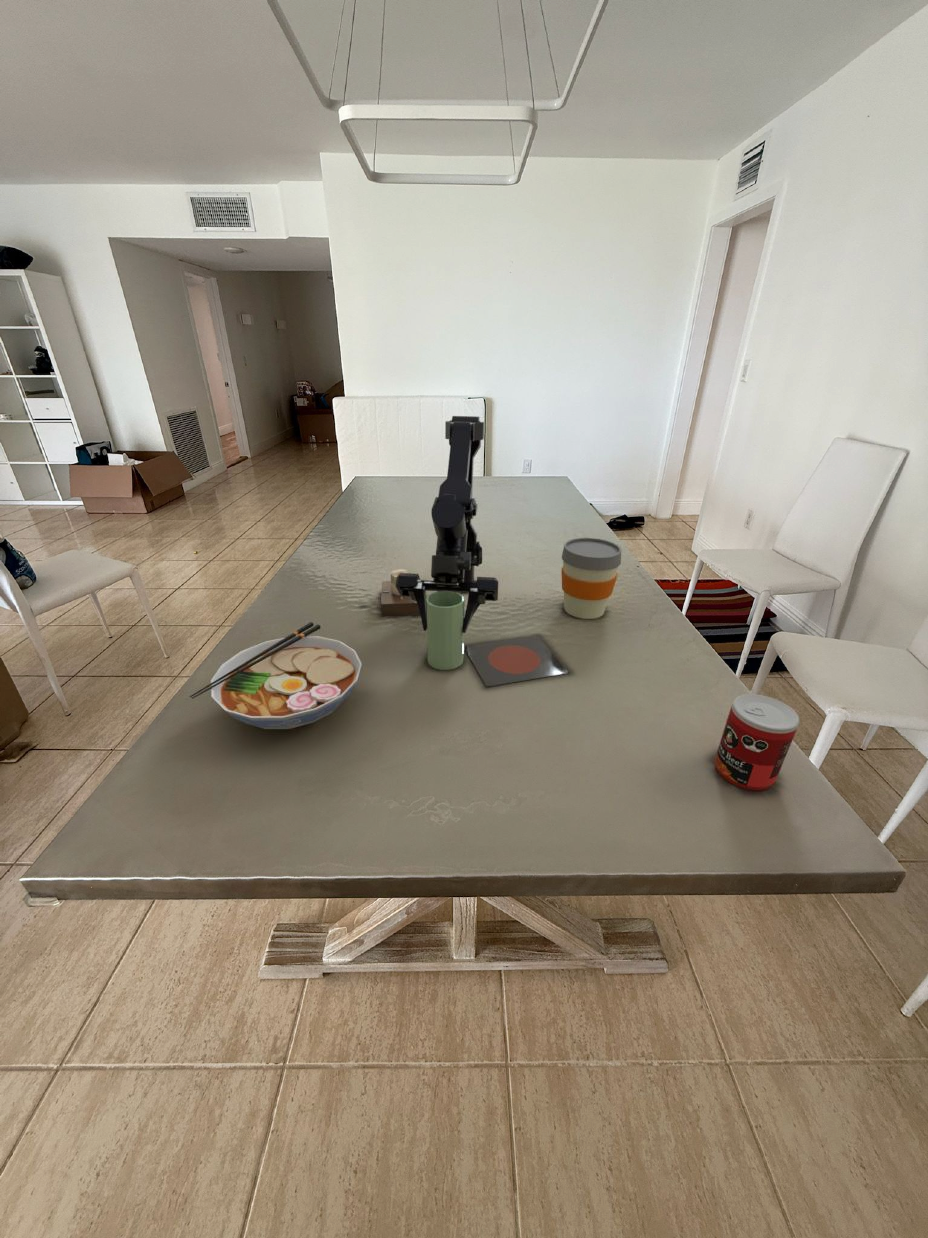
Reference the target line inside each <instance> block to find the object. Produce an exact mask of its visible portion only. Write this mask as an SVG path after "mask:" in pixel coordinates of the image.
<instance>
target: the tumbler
mask: <svg viewBox="0 0 928 1238" xmlns="http://www.w3.org/2000/svg"><path fill="white" fill-rule="evenodd" d="M426 597H427V598H426V627H427V628H426V660H427V663H428V665H429V666H430V667H431V668H432V669H433V668H434V669H436V670H439V671H451V670H455V669H457V668H459V667H460V666H461V665H463V662H464V657H465V656H464V655H465V654H464V653H465V652H464V651H465V649H464V646H465V633H463V622H464V617H465V597H464V596H463V595H462V594H461V593H460V592H453V591H433V592H431V593H430V594H428V595H426Z"/></svg>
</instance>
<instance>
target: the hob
mask: <svg viewBox="0 0 928 1238" xmlns="http://www.w3.org/2000/svg"><path fill="white" fill-rule="evenodd" d="M464 651H465V653H466V654H467V656H468V657H469V659H470V661H471V662H472V664H473V666H474V668H475V670H476V671H477V673H478V675H479V677H480V679H481V680H482V682H483V684H484V685H485V687H486V688H491V687H497V686H503V685H508V684H514V683H519V682H520V683H521V682H526V681H530V680H538V679H543V678H549V677H556V676H560V675H567V674H570V672H569V671H568V670H567V669H566V668H565V666H564V665H563V664H562V663H561V662H560V660H559V659H558V658H557V656H555V654H554V653H553V652H552V651H551V650H550V649H549V647H548V646H547V645H546V643H544V641H543V640H542V639H541V638H540V636H539V635H532V636H526V637H519V638H512V639H506V640H498V641H492V642H485V643H479V644H472V645H466V646H465V645H464Z"/></svg>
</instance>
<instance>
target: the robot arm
mask: <svg viewBox="0 0 928 1238" xmlns="http://www.w3.org/2000/svg"><path fill="white" fill-rule="evenodd" d="M485 426H486V423H485V421H481V420H480V416H477V415H476V416H474V415H471V416H470V415H452V416H451V419H450V420H446V421H445V426H444V427H445V429H444V431H445V432H444V433H445V435H444V438H445V440H448V445H449V454H448V456H449V457H448V466H447V474H446V479H445V480H444V481H443V482H442V483H441V484H440V485H439V490H438V496H436V497H435V498H434V501H433V504H432V506H431V511H430V513H431V519H432V523H433V527H434V532H435V535H436V547H435V554H434V555H431V566H430V567H431V568H430V576H431V579H432V580H428V579H427V580H425V579H421V576H420V575H419V573H411V572H410V573H400V574H399V575H398V576H397V578H396V588H397V590H398V592H399V594H400V595H401V596H408V597H411V599H412V600H413V601H416V602H417V604H418V607H419V612H420V615H419V616H420V621H421V625H422V630H423V631H424V632H427V630H426V628H427V627H426V598H427V595H426V593H427V592H437V591H453V592H456V593H463V594H464V593H465V594H468V595H467V603H466V608H465V611H464V622H463V633H464V634H466V632H467V630H468V628H469V625H470V623H471V621H472V620H473V617H474V616H475V613H476V612H477V610H478V609H479V607H480V606H481V605H486V601H487V602H490V601H491V602H496V601H498V599H499V579H498V578H497V577H495V576H493V577H492V576H491V577H490V576H477V577H476V580H475V567H479V566H480V565H482V564H483V547H482V546H481V543H480V541H478V532H477V531H476V529H475V527H474V525H473V523H472V520H473V519H474V518H475V517H476V516H477V512H478V503H477V501H476V499H475V498H474V497H473V485H474V484H473V483H474V460H475V457H476V455H477V454H478V452H479V450H480V449H481V447H482V441H483V440H484V439H485V430H486V429H485V428H486V427H485Z"/></svg>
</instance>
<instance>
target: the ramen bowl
mask: <svg viewBox="0 0 928 1238" xmlns="http://www.w3.org/2000/svg"><path fill="white" fill-rule="evenodd" d="M320 629H322V628H321V625H320V624H316V625H315V624H314V622H313V621H309V622H308V623H307V624H305V625H304V626H302V627H300V628H298V629H297V630H295V631H294V632H292V633H290V634H289V635H287V636H285V637H282V638H277V639H271V640H266V641H264V642H260V643H259V644H255V645H253V646H251V647H248V648H245V649H242V650H241V651H239V652H238V653H236V654H235V655H234V656H232V657H230V658H229V659H228V660H226V661H225V662H223V663H222V664H221V665H220V667H219V668H218V669H217V671H216V672H215V674H214V675H213V677H212V678H211V679H210V683H209V684H207V685H206V686H204V687H203V688H201V689H200V690H198V691H195V692H194V693H193V694H191V695H189V698H191V699H192V700H193V699H195V698H197V697H199V696H201V695H202V694H204V693H206V692H208V691H209V690H210V693H211V694H210V695H211V698H212V699H213V700H214V701H215V702H216V703H217V704H218V705H219V706H220V707H221V708H222V709H223V710H224V711H225V712H226V713H227V714H228V715H229V716H231V717H232V718H234V719H235V720H237V721H239V722H241V723H244V724H247V725H249V726H254V727H257V728H261V729H264V730H290V729H294V728H295V729H296V728H298V727H302V726H306V725H309V724H313V723H315V722H317V721H319V720H321V719H323V718H324V717H326V716H328V715H330V714H332V713H333V712H334V711H335V710H336V709H337V708H338V707H339V706H340V705H342V703H343V702H344V701H345V699H347V697H348V696H350V694H351V692H352V691H353V690H354V688H355V686H356V684H357V682H358V679H359V676H360V672H361V669H362V664H363V663H362V661H361V660H360V657H359V656H358V653H357V651H356V650H355V649H353V648H352V647H350V646H348V645H347V644H346V643H344V642H342V641H341V640H338V639H333V638H329V637H323V636H320V635H312V634H313V633H315V632H317V631H318V630H320Z"/></svg>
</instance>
